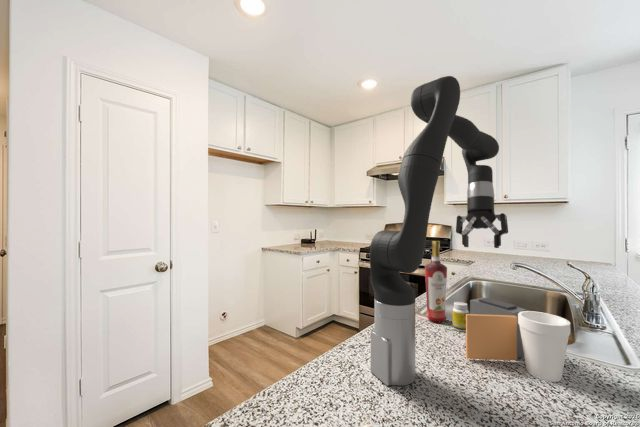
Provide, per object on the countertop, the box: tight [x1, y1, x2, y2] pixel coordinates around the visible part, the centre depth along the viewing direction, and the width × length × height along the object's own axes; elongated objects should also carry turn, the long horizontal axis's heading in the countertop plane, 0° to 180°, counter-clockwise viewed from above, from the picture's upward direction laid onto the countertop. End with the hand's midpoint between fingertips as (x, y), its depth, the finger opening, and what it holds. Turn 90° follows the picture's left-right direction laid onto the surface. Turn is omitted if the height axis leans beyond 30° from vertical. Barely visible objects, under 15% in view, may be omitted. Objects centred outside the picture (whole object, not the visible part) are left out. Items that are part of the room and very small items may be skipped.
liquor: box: [424, 240, 448, 323], centre depth 97 cm, size 7×7×28 cm
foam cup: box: [518, 310, 571, 383], centre depth 64 cm, size 10×9×13 cm
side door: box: [465, 313, 518, 362], centre depth 69 cm, size 1×12×11 cm, turn 86°
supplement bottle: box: [452, 301, 470, 333], centre depth 89 cm, size 5×5×8 cm
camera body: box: [469, 297, 528, 360], centre depth 77 cm, size 6×12×13 cm, turn 25°
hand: (480, 247), depth 86 cm, fingers open, 8 cm apart
